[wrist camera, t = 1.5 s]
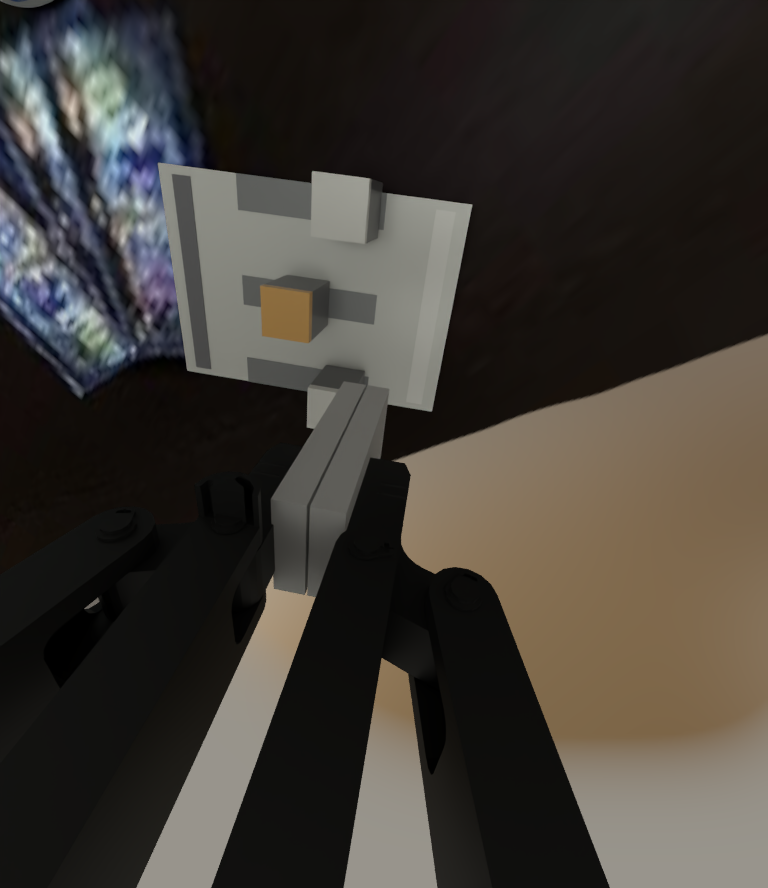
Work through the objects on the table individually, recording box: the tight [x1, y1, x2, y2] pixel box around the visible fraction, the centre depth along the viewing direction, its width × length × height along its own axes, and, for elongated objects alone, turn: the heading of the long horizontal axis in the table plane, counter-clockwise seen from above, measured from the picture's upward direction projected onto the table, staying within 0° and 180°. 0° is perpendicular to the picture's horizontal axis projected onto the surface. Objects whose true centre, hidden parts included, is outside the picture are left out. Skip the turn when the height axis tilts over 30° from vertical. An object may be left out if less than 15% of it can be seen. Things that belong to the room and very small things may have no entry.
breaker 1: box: [260, 275, 330, 343], centre depth 27 cm, size 3×3×5 cm
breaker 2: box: [311, 171, 383, 244], centre depth 23 cm, size 3×3×5 cm
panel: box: [158, 163, 472, 412], centre depth 30 cm, size 20×14×2 cm
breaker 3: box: [307, 365, 365, 429], centre depth 30 cm, size 3×3×5 cm
